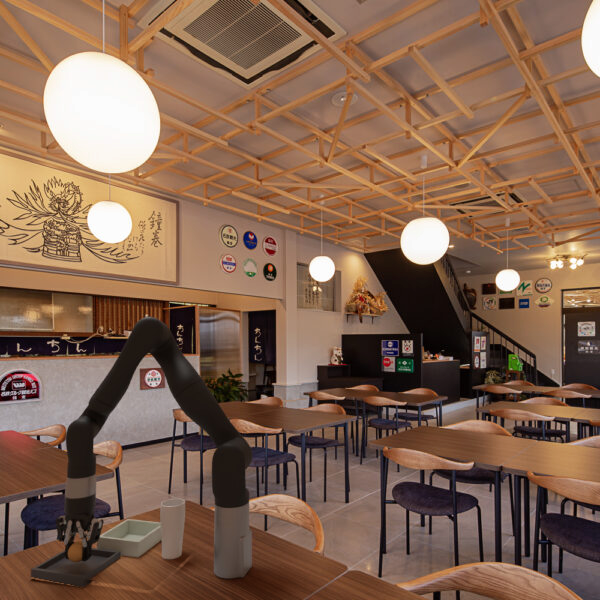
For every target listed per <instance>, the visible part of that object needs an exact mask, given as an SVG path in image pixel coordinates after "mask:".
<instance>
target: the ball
mask: <svg viewBox="0 0 600 600" xmlns="http://www.w3.org/2000/svg"><path fill="white" fill-rule="evenodd" d="M74 542H75V543H74V544H72V545H71V547H70V548H69V550H68V558H69V560H70V561H72V562H75V563H77V562H80V561H82V547H84V546H83V543H82V540H78V541H74Z"/></svg>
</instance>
